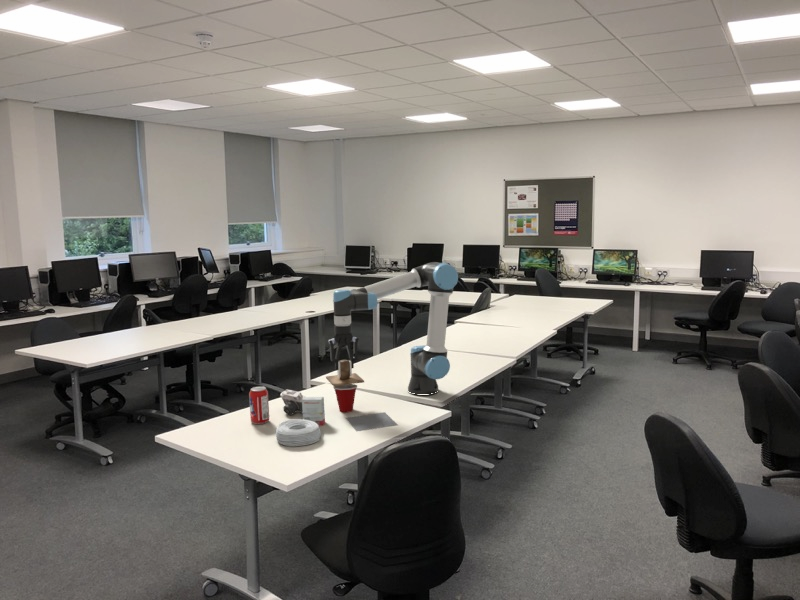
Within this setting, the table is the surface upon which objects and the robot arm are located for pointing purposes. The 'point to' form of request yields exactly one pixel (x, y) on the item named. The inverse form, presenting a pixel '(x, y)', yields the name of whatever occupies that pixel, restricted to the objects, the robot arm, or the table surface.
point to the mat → (371, 421)
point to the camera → (292, 401)
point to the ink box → (314, 409)
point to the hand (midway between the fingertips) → (344, 376)
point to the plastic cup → (345, 396)
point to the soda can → (259, 405)
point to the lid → (344, 375)
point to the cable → (297, 432)
